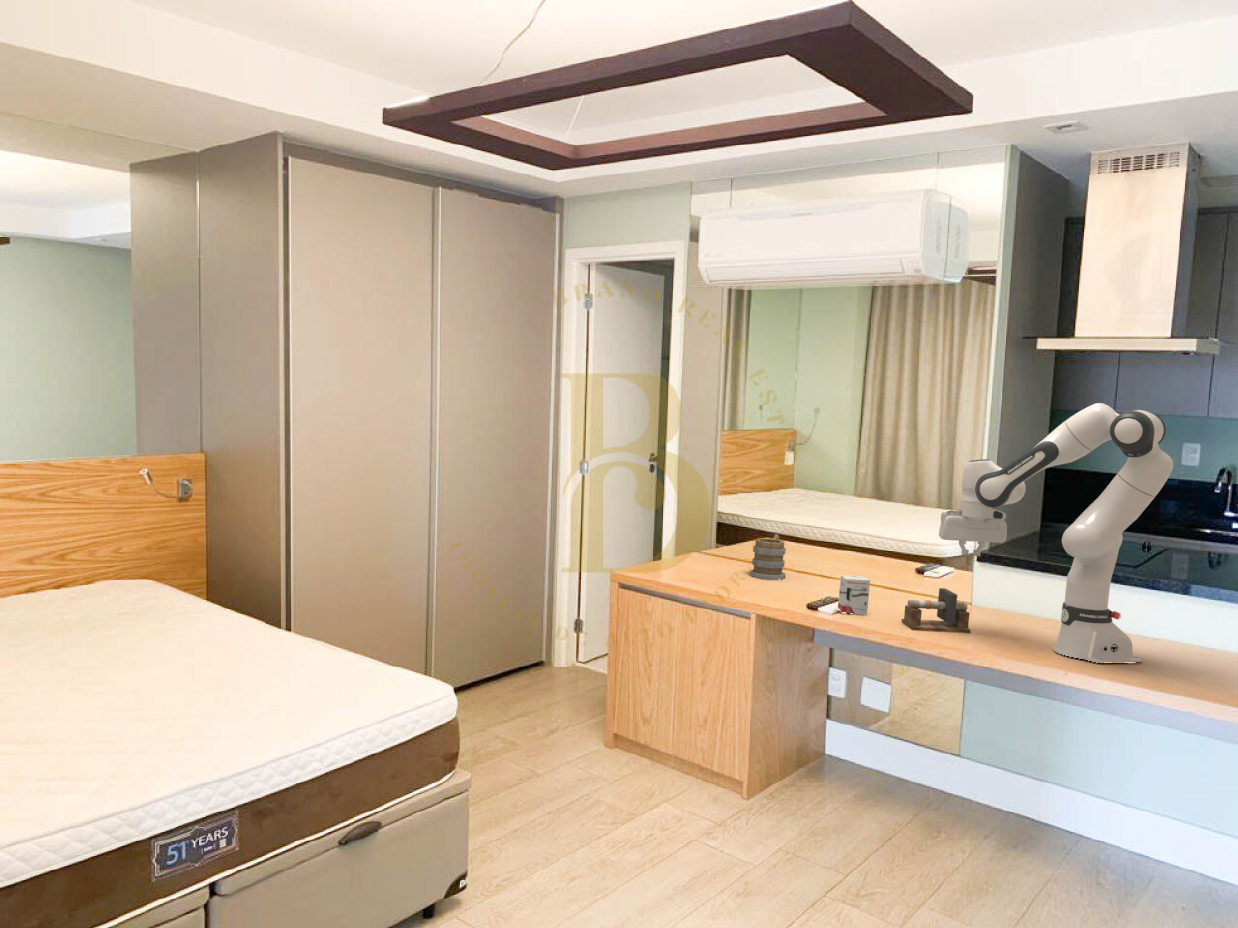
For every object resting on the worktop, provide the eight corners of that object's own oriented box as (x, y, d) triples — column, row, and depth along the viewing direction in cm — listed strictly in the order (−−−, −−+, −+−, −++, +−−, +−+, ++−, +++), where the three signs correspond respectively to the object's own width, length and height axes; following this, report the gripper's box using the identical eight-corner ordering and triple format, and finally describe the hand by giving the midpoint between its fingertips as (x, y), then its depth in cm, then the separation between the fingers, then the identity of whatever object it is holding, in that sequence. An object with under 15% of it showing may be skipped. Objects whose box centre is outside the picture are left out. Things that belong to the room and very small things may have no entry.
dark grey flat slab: (943, 616, 291) (945, 588, 290) (954, 623, 282) (957, 594, 281) (936, 616, 291) (939, 588, 290) (948, 623, 282) (950, 594, 281)
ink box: (841, 614, 296) (844, 577, 295) (837, 610, 301) (840, 574, 300) (867, 615, 297) (870, 579, 296) (862, 611, 302) (866, 576, 301)
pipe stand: (957, 624, 292) (959, 598, 291) (970, 632, 282) (973, 606, 281) (901, 621, 291) (903, 595, 290) (912, 630, 281) (915, 603, 280)
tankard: (778, 581, 343) (782, 541, 342) (746, 576, 349) (749, 537, 347) (792, 573, 361) (795, 535, 360) (761, 569, 367) (764, 531, 366)
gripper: (945, 510, 280) (941, 555, 281) (1011, 514, 281) (1007, 559, 282) (937, 508, 286) (933, 551, 287) (1001, 511, 287) (997, 555, 289)
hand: (970, 555), depth 285 cm, fingers open, 2 cm apart
